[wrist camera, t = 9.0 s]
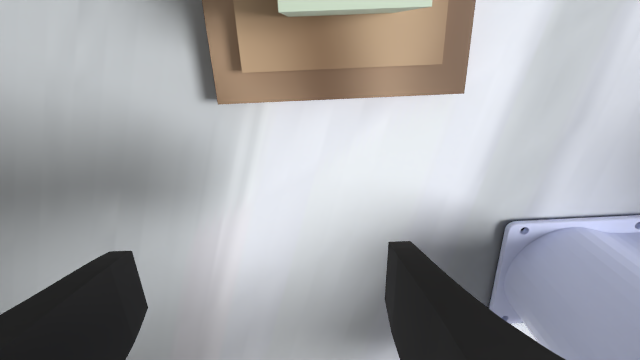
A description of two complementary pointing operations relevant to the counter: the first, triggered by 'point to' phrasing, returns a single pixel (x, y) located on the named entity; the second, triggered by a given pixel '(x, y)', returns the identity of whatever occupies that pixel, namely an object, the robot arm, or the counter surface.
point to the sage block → (347, 7)
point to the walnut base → (336, 52)
